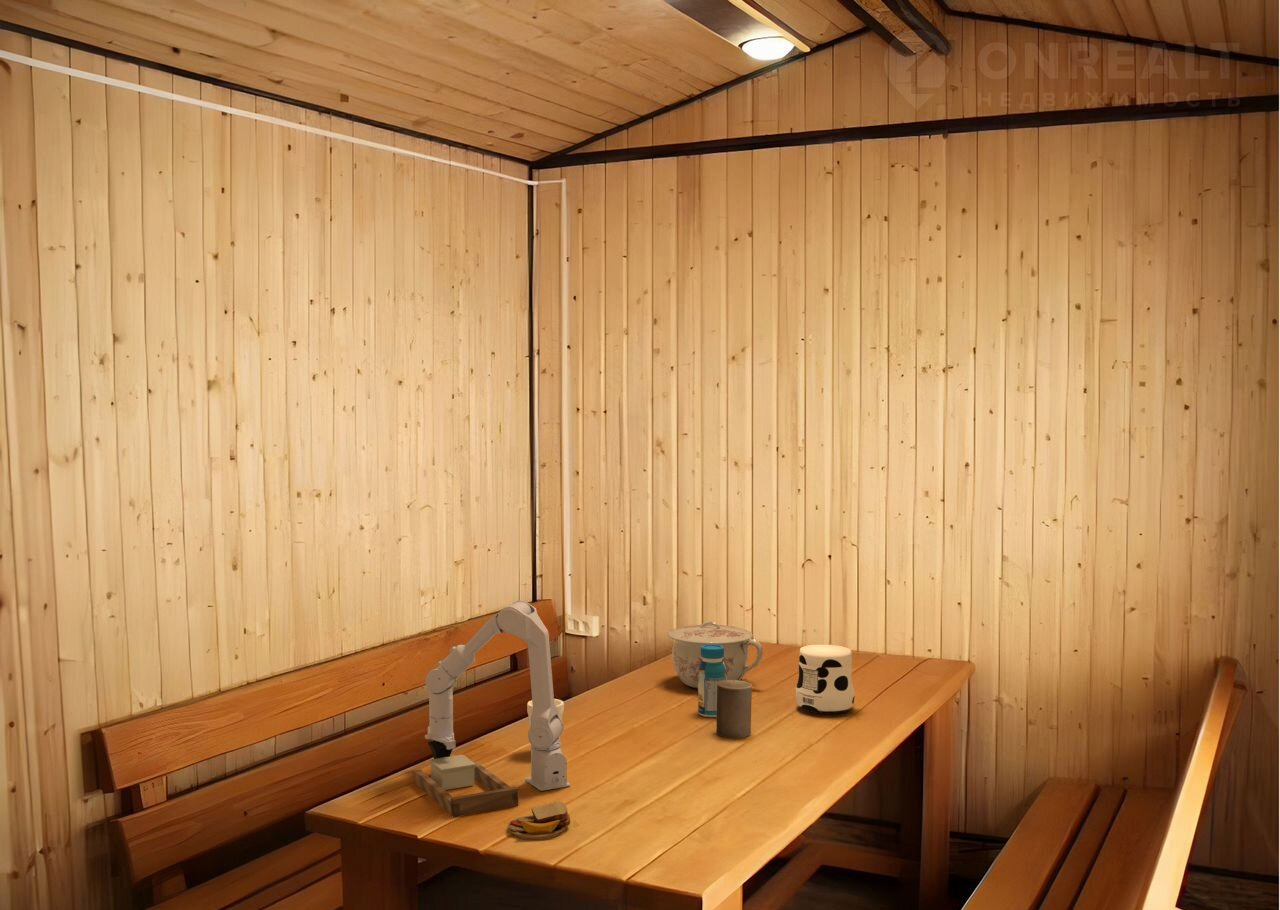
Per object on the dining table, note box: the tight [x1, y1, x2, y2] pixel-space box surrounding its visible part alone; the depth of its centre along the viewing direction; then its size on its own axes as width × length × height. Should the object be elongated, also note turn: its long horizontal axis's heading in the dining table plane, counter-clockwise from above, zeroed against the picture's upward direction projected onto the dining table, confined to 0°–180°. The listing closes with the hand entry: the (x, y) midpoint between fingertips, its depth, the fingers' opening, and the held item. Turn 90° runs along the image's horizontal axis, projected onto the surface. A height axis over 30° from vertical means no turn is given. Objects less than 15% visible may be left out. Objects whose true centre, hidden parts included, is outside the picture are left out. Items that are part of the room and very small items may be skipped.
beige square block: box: [428, 754, 476, 791], centre depth 284 cm, size 9×9×5 cm
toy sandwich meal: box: [507, 800, 571, 840], centre depth 255 cm, size 12×14×5 cm
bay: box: [414, 760, 519, 818], centre depth 277 cm, size 26×16×4 cm, turn 29°
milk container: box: [795, 644, 856, 715], centre depth 351 cm, size 17×17×18 cm
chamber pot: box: [667, 620, 764, 690], centre depth 380 cm, size 28×28×21 cm
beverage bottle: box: [697, 644, 727, 718], centre depth 346 cm, size 8×8×20 cm
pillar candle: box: [715, 680, 753, 739], centre depth 327 cm, size 10×10×15 cm
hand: (441, 770), depth 291 cm, fingers closed
